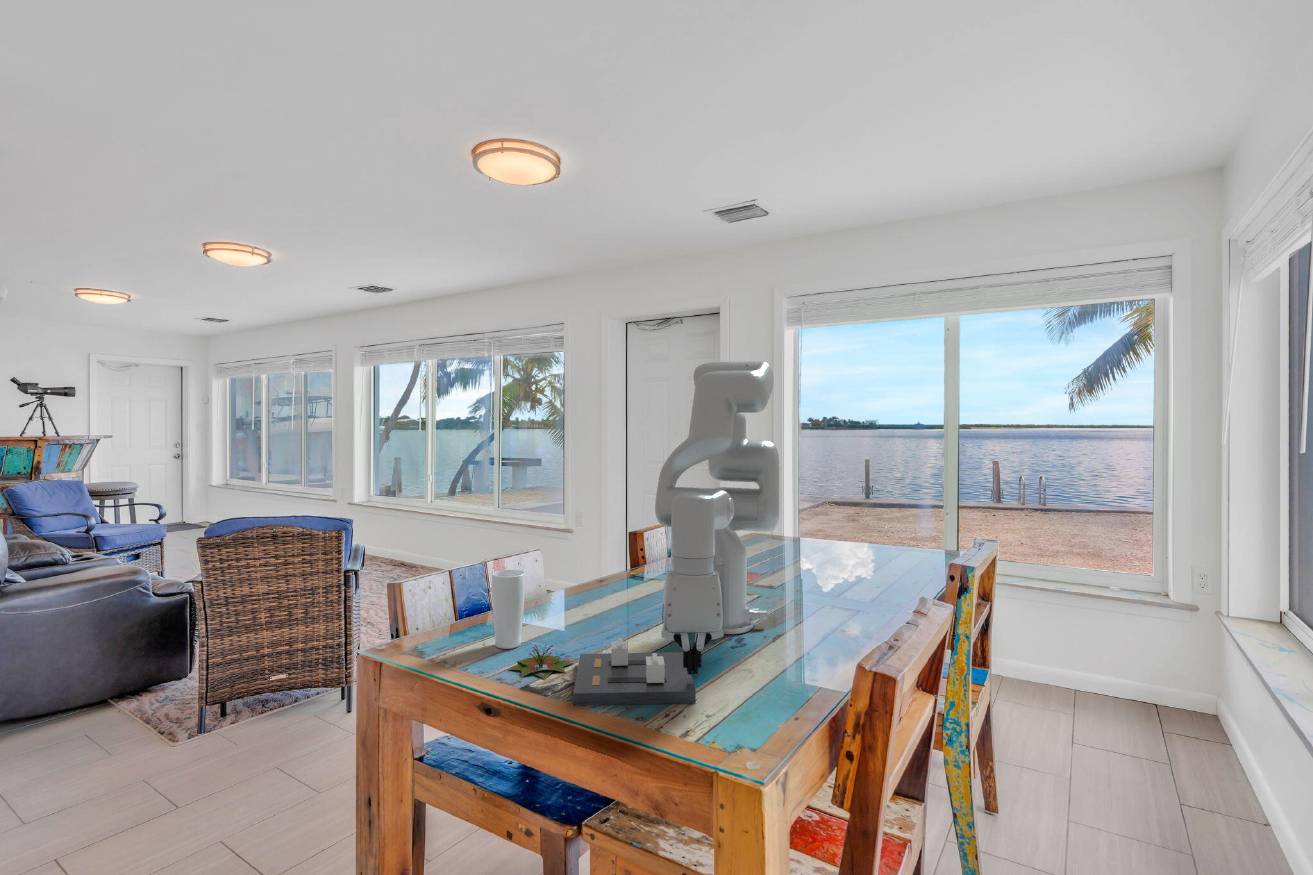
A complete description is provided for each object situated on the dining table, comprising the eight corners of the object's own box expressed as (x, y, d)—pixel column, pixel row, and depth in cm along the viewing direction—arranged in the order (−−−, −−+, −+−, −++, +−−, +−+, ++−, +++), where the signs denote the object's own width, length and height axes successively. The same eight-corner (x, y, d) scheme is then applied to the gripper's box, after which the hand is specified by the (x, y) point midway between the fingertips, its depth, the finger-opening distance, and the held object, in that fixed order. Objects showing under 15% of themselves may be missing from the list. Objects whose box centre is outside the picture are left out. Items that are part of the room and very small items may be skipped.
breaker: (627, 657, 119) (627, 638, 119) (627, 665, 115) (628, 645, 115) (611, 657, 118) (611, 638, 118) (611, 665, 115) (611, 645, 114)
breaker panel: (684, 662, 122) (684, 651, 122) (695, 703, 104) (695, 690, 104) (580, 664, 121) (580, 653, 121) (573, 705, 103) (573, 692, 103)
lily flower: (537, 654, 128) (537, 631, 128) (585, 665, 122) (585, 641, 122) (494, 674, 117) (494, 649, 117) (545, 687, 112) (545, 661, 111)
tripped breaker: (662, 673, 111) (663, 652, 111) (664, 682, 107) (664, 661, 107) (645, 673, 111) (645, 653, 111) (646, 682, 107) (646, 661, 107)
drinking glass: (531, 642, 133) (531, 571, 133) (511, 653, 127) (511, 578, 127) (505, 638, 136) (505, 568, 136) (484, 648, 130) (484, 574, 129)
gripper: (732, 560, 113) (731, 662, 113) (648, 560, 112) (647, 664, 113) (740, 569, 106) (739, 679, 106) (650, 570, 105) (649, 680, 105)
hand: (692, 671), depth 109 cm, fingers closed
